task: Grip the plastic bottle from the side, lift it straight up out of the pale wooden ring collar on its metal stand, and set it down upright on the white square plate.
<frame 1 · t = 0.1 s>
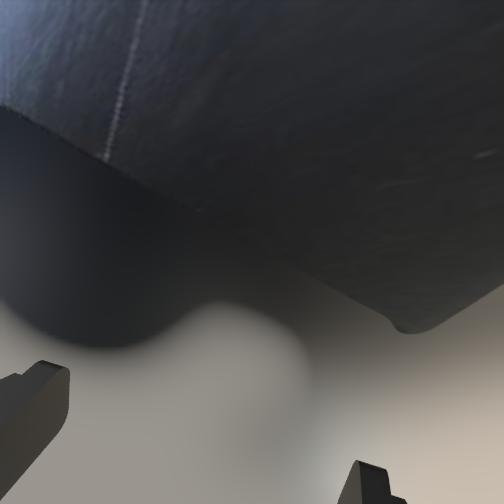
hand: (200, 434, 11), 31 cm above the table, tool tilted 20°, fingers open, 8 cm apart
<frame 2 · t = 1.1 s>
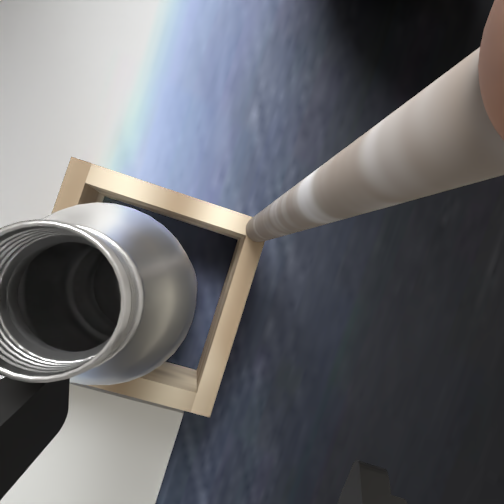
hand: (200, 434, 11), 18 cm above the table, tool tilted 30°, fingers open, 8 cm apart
plastic bottle: (151, 284, 29), resting in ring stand, touching gripper
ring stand: (151, 284, 29), on the table
white square plate: (73, 472, 28), on the table
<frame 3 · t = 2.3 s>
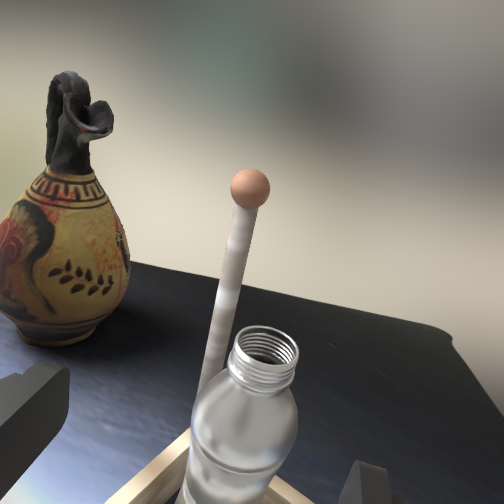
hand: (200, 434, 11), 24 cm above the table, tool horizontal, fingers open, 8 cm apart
ceramic jug: (60, 321, 51), on the table
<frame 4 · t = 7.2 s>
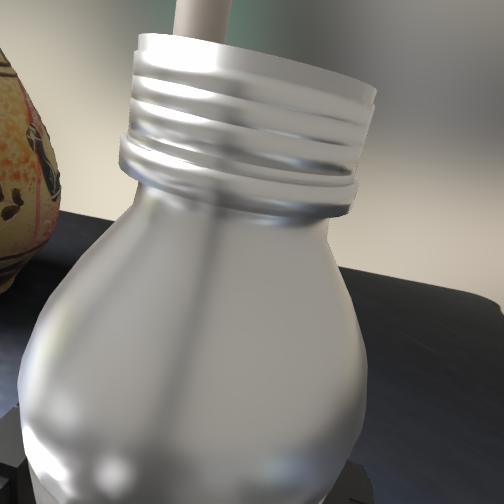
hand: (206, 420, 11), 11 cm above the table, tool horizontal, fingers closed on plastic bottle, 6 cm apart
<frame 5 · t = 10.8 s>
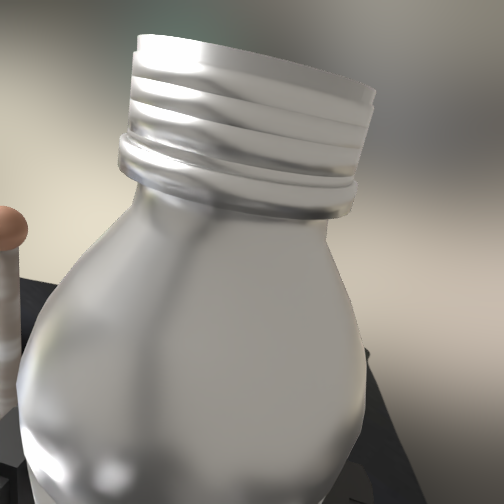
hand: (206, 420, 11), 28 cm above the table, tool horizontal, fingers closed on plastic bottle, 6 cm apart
when the fingers open (13 cm above the table, at t = 14.8 s): plastic bottle drops 1 cm, resting on white square plate.
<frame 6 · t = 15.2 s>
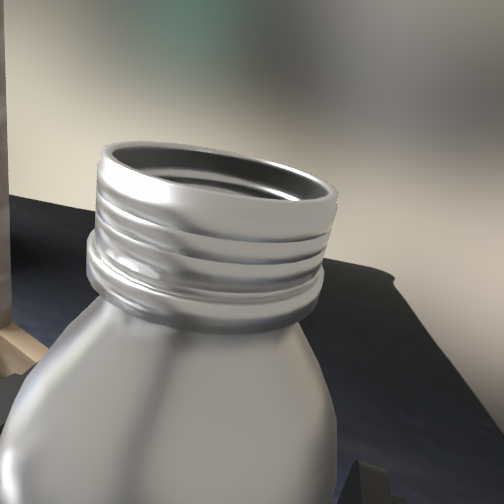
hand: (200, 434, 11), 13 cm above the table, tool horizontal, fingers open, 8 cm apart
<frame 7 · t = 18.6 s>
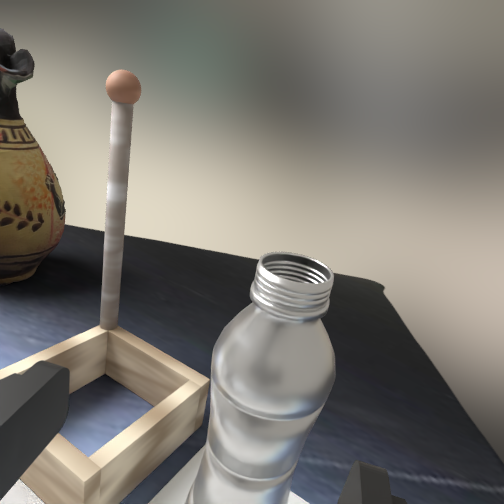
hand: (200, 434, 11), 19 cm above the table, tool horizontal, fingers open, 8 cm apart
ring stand: (97, 429, 33), on the table
ceramic jug: (1, 268, 55), on the table
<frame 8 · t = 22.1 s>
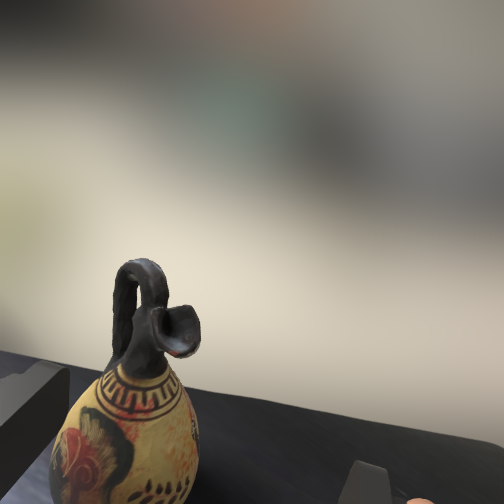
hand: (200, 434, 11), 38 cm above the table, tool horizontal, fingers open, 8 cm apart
ceramic jug: (119, 500, 47), on the table
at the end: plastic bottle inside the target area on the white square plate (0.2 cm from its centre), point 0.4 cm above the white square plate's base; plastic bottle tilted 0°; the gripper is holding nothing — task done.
